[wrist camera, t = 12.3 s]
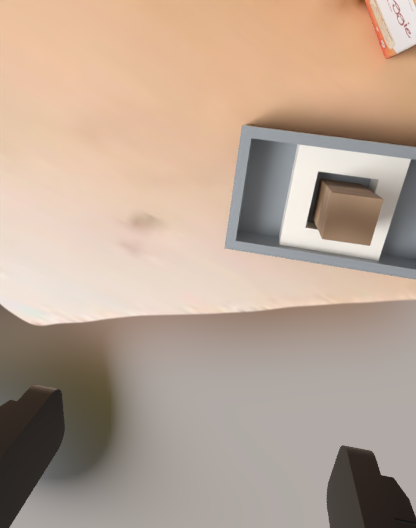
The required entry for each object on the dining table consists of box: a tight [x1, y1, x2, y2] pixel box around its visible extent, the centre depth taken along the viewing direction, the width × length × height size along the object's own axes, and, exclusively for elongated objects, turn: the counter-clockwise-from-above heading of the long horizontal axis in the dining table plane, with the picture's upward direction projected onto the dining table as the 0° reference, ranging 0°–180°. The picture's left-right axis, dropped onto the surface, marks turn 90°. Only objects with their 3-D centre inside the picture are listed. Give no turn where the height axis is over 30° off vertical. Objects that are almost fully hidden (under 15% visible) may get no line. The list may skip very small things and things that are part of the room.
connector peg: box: [312, 179, 384, 246], centre depth 34 cm, size 4×4×8 cm
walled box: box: [225, 125, 416, 279], centre depth 36 cm, size 12×21×4 cm, turn 83°
